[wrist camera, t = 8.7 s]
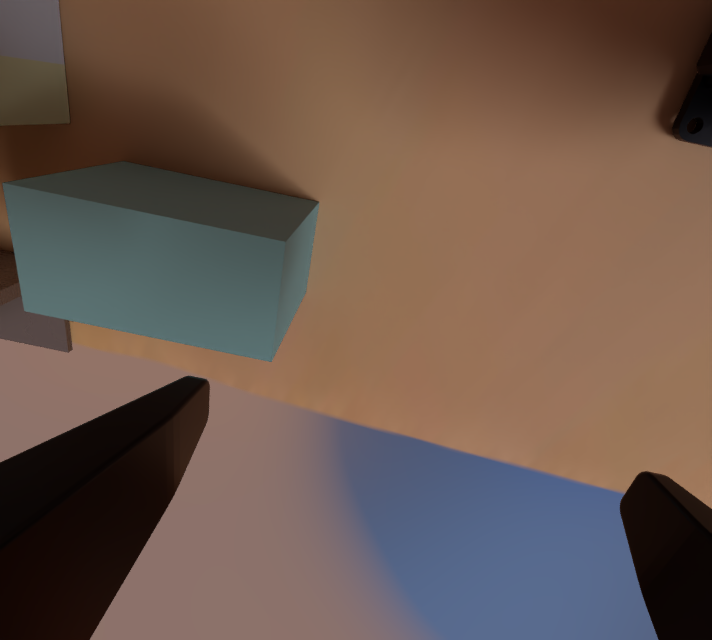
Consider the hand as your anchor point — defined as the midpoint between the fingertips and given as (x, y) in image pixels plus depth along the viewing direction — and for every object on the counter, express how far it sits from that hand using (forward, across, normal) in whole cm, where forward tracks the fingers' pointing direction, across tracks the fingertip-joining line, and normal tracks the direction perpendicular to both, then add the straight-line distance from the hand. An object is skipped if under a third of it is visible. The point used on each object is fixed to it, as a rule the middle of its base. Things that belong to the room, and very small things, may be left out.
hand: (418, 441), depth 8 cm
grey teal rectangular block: (+11, +8, 0) cm, 14 cm away
